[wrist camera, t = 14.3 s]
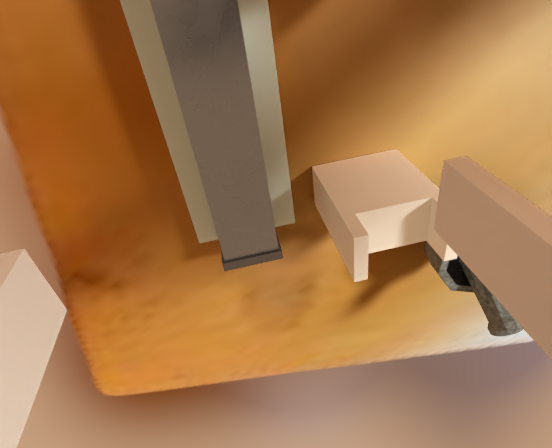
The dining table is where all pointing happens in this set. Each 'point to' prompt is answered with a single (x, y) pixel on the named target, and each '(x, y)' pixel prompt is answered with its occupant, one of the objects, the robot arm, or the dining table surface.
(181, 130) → the mat
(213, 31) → the rail
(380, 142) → the dining table surface
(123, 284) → the dining table surface
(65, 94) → the dining table surface
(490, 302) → the mortar and pestle
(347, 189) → the beige u-shaped block
